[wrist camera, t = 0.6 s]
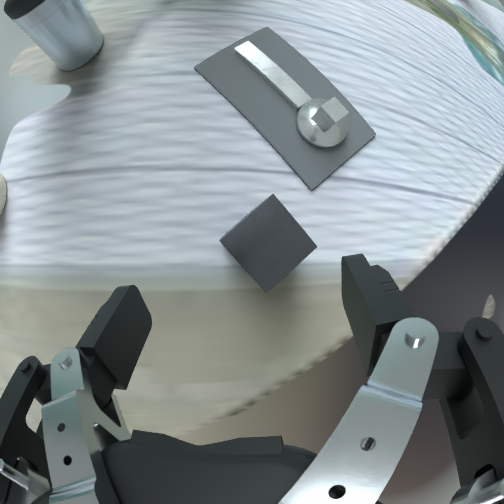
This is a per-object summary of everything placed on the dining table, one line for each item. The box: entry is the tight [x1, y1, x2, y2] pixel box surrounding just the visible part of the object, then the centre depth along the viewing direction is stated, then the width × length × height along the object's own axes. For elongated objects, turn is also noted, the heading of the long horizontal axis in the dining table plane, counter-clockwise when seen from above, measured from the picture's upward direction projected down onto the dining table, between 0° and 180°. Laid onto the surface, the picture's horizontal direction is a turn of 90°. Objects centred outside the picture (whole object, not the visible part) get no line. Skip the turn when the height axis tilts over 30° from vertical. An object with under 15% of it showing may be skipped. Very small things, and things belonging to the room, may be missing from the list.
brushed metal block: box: [219, 194, 317, 293], centre depth 29 cm, size 6×6×11 cm
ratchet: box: [234, 41, 349, 149], centre depth 30 cm, size 20×7×6 cm, turn 41°
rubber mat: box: [194, 27, 376, 190], centre depth 33 cm, size 24×14×1 cm, turn 41°
